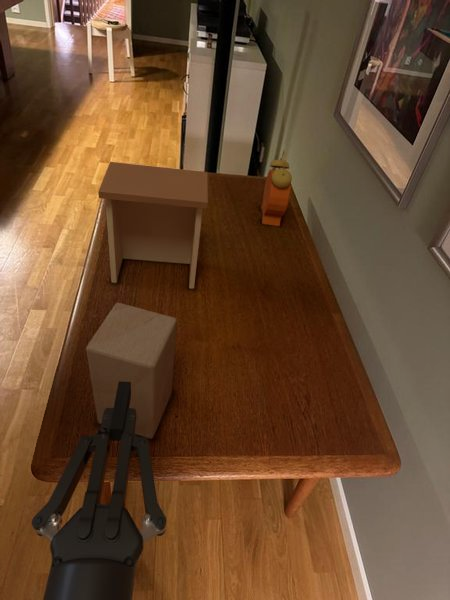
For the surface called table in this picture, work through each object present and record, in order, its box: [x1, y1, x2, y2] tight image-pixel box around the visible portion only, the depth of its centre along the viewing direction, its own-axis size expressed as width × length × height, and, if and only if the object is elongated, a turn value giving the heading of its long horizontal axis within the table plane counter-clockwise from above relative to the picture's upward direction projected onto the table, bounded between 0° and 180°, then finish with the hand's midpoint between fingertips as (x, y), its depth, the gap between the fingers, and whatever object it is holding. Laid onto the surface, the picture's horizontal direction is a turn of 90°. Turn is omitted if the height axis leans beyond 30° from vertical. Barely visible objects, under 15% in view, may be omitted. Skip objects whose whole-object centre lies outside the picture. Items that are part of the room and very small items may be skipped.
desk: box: [97, 161, 209, 289], centre depth 90 cm, size 13×21×24 cm, turn 92°
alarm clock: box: [260, 150, 293, 227], centre depth 120 cm, size 13×6×20 cm, turn 179°
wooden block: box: [85, 302, 178, 439], centre depth 64 cm, size 10×10×20 cm
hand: (125, 388), depth 51 cm, fingers closed
